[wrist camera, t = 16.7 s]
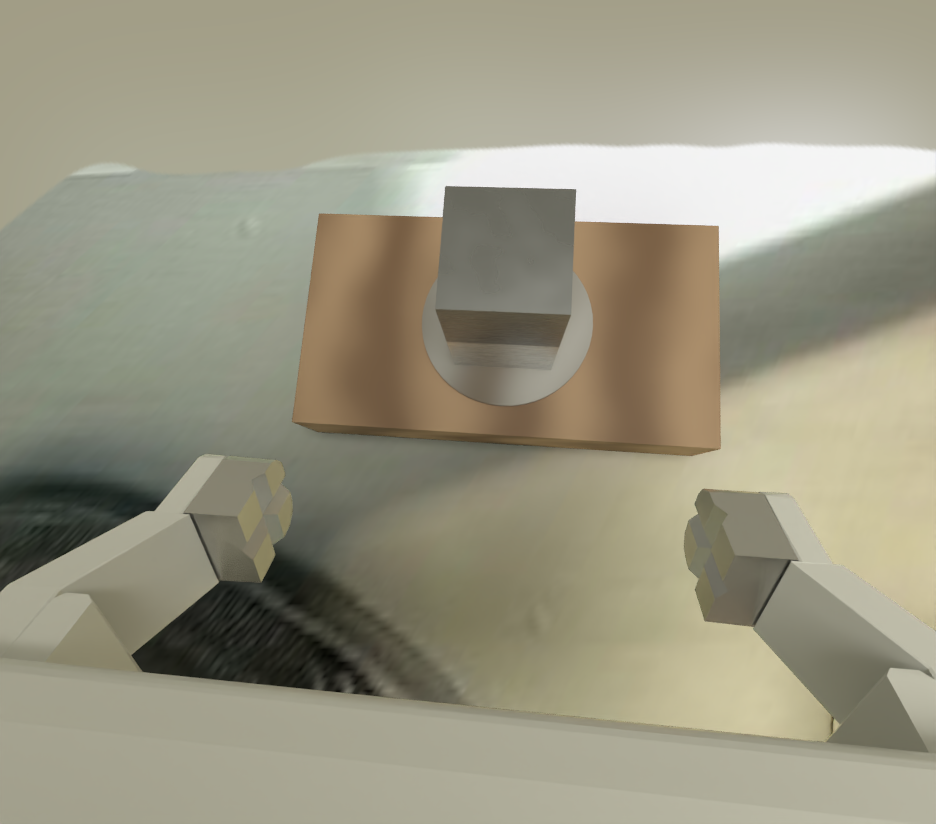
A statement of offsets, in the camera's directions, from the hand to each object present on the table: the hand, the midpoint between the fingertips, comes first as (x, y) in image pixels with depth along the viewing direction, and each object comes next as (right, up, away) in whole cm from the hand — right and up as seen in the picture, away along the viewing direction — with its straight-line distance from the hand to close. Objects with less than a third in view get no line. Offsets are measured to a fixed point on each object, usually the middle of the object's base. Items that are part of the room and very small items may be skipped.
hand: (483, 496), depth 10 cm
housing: (+2, +6, +17) cm, 18 cm away
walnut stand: (+2, +6, +21) cm, 22 cm away
